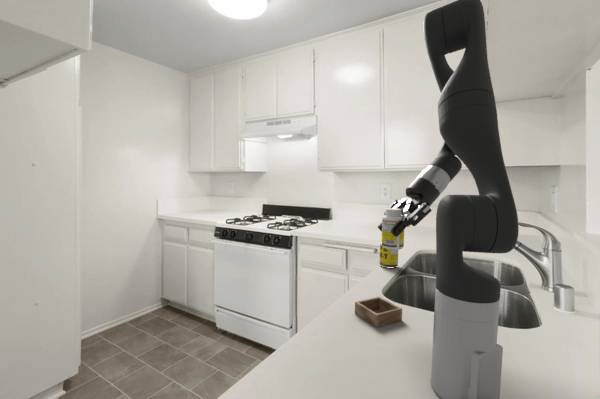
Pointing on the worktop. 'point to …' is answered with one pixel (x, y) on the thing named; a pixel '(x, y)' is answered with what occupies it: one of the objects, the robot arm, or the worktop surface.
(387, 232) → the supplement bottle
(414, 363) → the worktop surface
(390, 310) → the wooden box
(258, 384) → the worktop surface
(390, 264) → the supplement bottle
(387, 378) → the worktop surface
